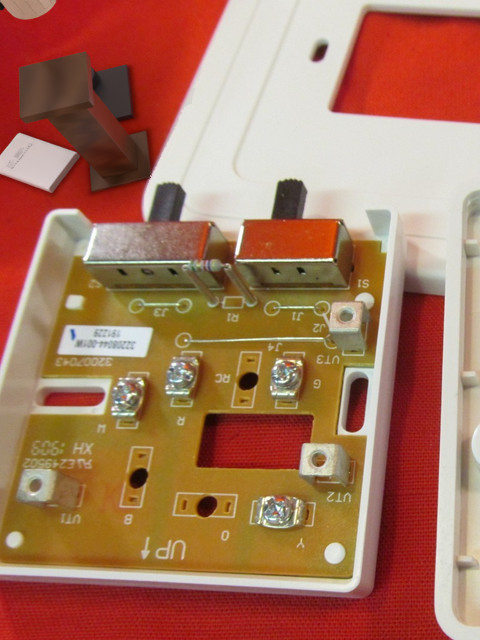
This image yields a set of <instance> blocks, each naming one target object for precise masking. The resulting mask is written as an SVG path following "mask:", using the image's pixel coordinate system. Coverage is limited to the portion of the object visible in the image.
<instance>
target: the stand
mask: <svg viewBox="0 0 480 640" xmlns="http://www.w3.org/2000/svg"><path fill="white" fill-rule="evenodd" d="M91 67H92V60H91V56H90V55H89V54H88V52H87V51H86V50H84V51H81V52H77V53H73V54H68V55H65V56H60V57H57V58H53V59H52V58H51V59H48V60H43V61H39V62H35V63H32V64H26V65H23V66H19V67H18V86H19V87H18V88H19V90H18V92H19V93H18V95H19V97H18V98H19V119H20V120H21V121H22V122H23V123H24V124H25V125H26V124H31V123H34V122H38V121H39V122H40V121H43V120H48V121H49V122H50V123H51V125H52V126H53V127H54V128H55V129H56V130H57V132H59V134H61V135H62V137H63V138H64V139H65V140H66V141H67V142H68V143H69V145H71V146H72V147H73V148H74V149H75V151H76V152H77V153H78V154H79V155H80V157H82V158H83V159H84V160H85V161H86V162H87V163H88V165H89V175H90V188H91V192H92V193H97V192H101V191H106V190H109V189H113V188H118V187H121V186H125V185H130V184H133V183H137V182H141V181H145V180H148V179H149V180H150V178H149V177H150V175H151V173H152V174H153V171H152V165H151V154H150V146H149V145H150V144H149V135H148V132H147V130H143V131H139V132H134V133H131V134H129V133H128V132H127V130H126V129H125V127H123V126H122V124H121V122H120V121H119V122H118V120H117V119H116V118H115V117H114V115H113V114H112V113H111V112H110V110H109V109H108V108H107V106H106V105H105V104H104V103H103V101H102V100H101V99H100V98H99V96H98V95H97V94H96V93H95V91H94V90H93V86H92V72H91Z"/></svg>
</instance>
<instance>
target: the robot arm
mask: <svg viewBox="0 0 480 640" xmlns="http://www.w3.org/2000/svg"><path fill="white" fill-rule="evenodd" d="M5 9H6V8H5V7H4V5H3V4H2V3H1V2H0V11H4V10H5Z"/></svg>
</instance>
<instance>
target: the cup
mask: <svg viewBox="0 0 480 640" xmlns="http://www.w3.org/2000/svg"><path fill="white" fill-rule="evenodd" d="M0 2H1V3H2V4H3V5H4V7H5V8H4V9H6V10H7V12H8V13H10V15H11V16H13V17H14V18H16V19H19V20H32V19H36V18H39V17H41V16H44V15H45V14H47V13H48V12H49V11H50V10H52V8H53V7H54V6H55V4H56V3H57V0H0Z"/></svg>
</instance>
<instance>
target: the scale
mask: <svg viewBox="0 0 480 640" xmlns="http://www.w3.org/2000/svg"><path fill="white" fill-rule="evenodd" d="M91 72H92V86H93V90H94V91H95V93H96V94H97V95H98V96H99V98H100V99H101V100H102V101H103V103H104V104H105V105H106V106H107V108H108V109H109V110H110V112H111V113H112V114H113V115H114V117H115V118H116V119H117V120H118V122H119V123H120V122H123V121H126V120H127V121H128V120H130V119H131V120H132V119H134V118H135V115H134V104H133V103H134V102H133V94H132V84H131V83H132V82H131V73H130V68H129V66H128V64H122V65H118V66H117V65H116V66H114V67H110V68H104V69H101V70H97V71H96V70H95V69H94V68H93V67H92V66H91Z"/></svg>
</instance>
